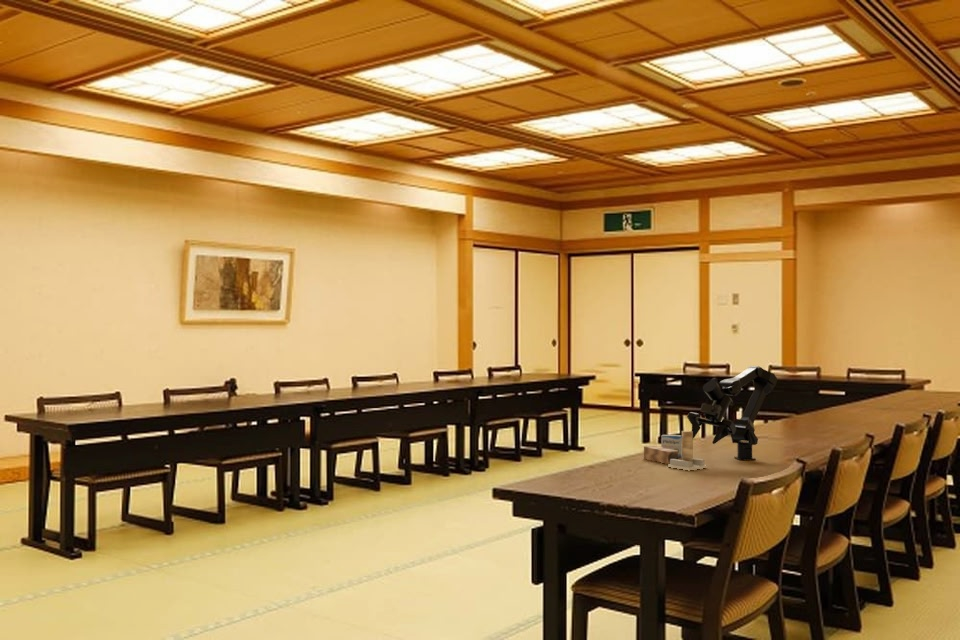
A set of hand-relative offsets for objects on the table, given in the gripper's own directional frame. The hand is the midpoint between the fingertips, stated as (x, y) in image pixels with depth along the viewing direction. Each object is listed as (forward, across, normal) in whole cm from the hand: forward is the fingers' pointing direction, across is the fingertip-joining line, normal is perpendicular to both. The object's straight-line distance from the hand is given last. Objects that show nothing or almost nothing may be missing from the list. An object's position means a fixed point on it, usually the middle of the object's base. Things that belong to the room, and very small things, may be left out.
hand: (702, 440), depth 341 cm
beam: (+10, -16, +6) cm, 20 cm away
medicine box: (+1, -20, +18) cm, 27 cm away
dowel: (+12, 0, -1) cm, 12 cm away
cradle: (+13, 0, 0) cm, 13 cm away
